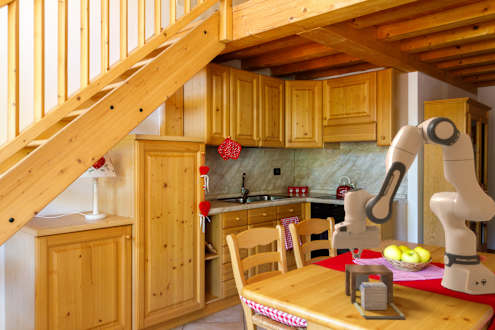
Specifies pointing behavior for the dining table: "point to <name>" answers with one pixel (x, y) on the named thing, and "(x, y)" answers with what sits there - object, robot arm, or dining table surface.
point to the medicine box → (373, 296)
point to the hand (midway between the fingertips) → (356, 258)
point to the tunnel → (381, 270)
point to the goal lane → (390, 304)
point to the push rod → (361, 280)
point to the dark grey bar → (384, 317)
